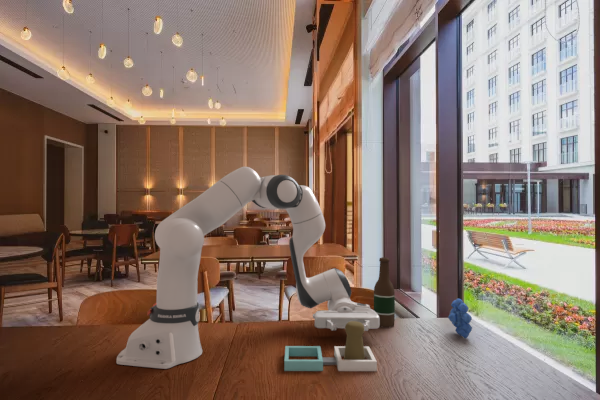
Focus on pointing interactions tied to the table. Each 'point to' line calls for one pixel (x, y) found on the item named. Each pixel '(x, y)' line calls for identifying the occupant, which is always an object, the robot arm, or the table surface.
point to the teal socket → (303, 364)
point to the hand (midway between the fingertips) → (350, 328)
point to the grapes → (460, 318)
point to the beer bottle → (384, 296)
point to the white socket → (351, 361)
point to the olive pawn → (354, 341)
